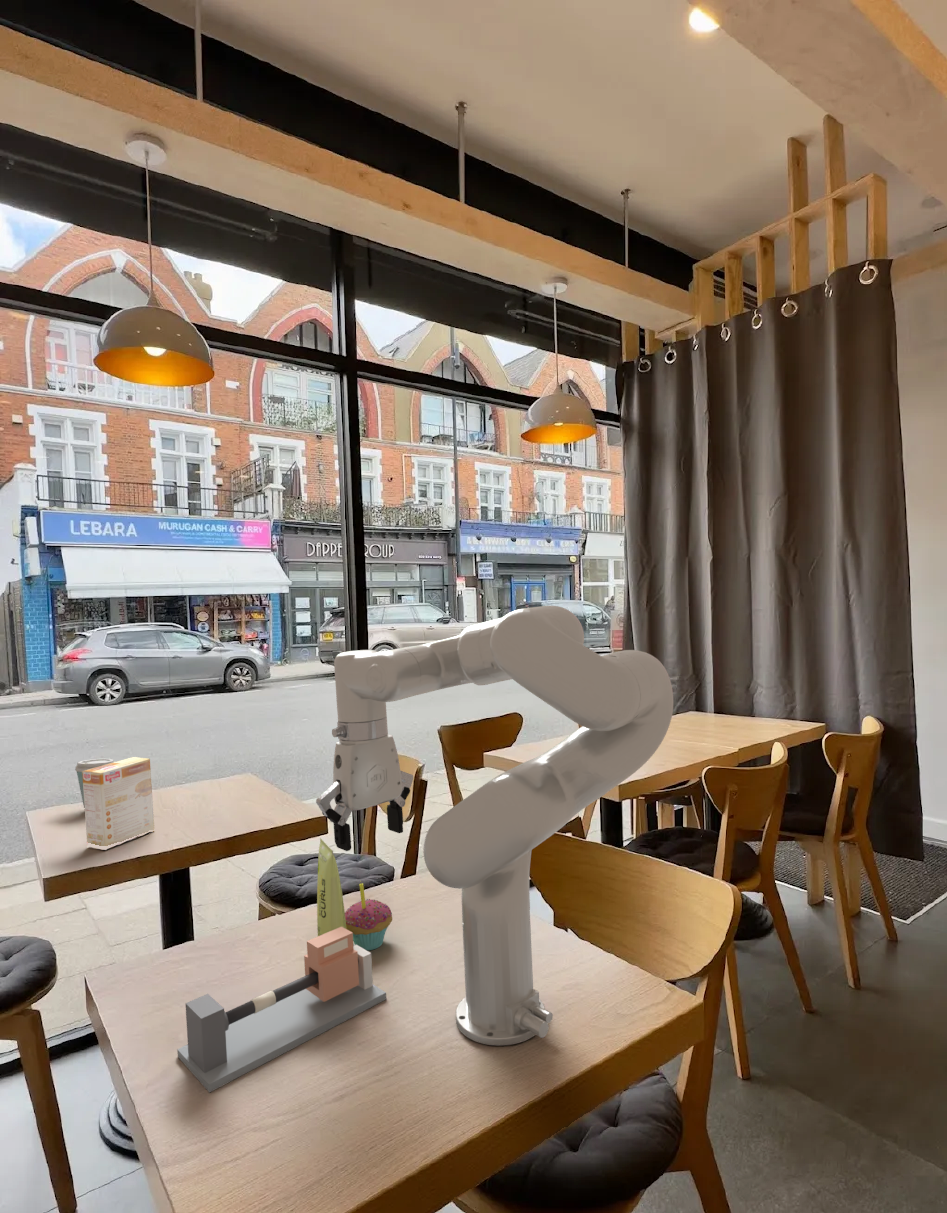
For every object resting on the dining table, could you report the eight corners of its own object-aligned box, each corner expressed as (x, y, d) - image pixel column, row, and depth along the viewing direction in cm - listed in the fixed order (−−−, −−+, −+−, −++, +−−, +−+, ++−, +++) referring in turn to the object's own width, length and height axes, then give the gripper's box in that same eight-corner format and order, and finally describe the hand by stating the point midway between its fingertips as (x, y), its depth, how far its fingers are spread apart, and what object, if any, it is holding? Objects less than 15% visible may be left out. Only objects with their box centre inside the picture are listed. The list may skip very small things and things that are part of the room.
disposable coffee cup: (93, 805, 218) (90, 755, 217) (126, 804, 216) (123, 755, 216) (69, 816, 207) (66, 764, 207) (104, 816, 206) (100, 764, 205)
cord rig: (348, 975, 115) (346, 925, 115) (386, 999, 108) (383, 946, 107) (177, 1056, 96) (174, 997, 96) (209, 1092, 89) (205, 1029, 89)
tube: (309, 964, 119) (302, 847, 118) (326, 949, 123) (320, 836, 123) (338, 970, 117) (332, 850, 116) (355, 954, 121) (349, 839, 121)
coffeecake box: (137, 828, 193) (132, 756, 193) (155, 831, 190) (151, 758, 190) (85, 848, 180) (80, 770, 179) (105, 851, 177) (100, 772, 176)
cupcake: (384, 958, 120) (380, 886, 119) (335, 955, 121) (331, 884, 121) (399, 933, 128) (396, 866, 128) (354, 930, 130) (350, 864, 129)
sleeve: (340, 972, 111) (338, 924, 111) (359, 984, 107) (356, 935, 107) (305, 989, 107) (303, 939, 107) (324, 1002, 103) (321, 950, 103)
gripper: (327, 743, 103) (335, 862, 104) (422, 723, 115) (428, 829, 116) (301, 738, 109) (308, 850, 109) (393, 719, 121) (400, 820, 121)
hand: (370, 839), depth 112 cm, fingers open, 9 cm apart
